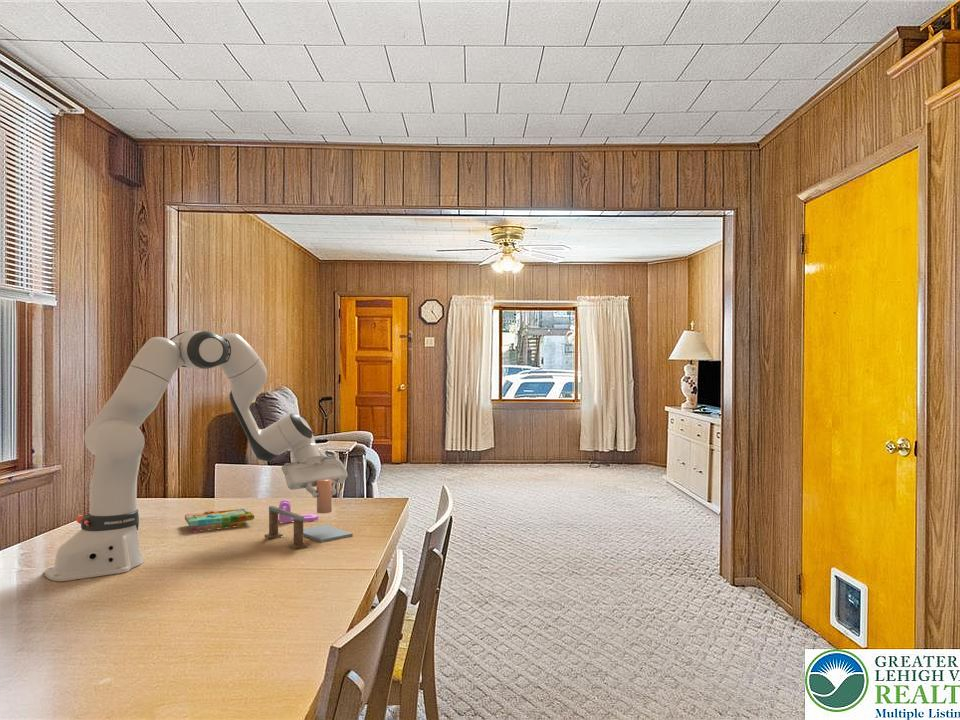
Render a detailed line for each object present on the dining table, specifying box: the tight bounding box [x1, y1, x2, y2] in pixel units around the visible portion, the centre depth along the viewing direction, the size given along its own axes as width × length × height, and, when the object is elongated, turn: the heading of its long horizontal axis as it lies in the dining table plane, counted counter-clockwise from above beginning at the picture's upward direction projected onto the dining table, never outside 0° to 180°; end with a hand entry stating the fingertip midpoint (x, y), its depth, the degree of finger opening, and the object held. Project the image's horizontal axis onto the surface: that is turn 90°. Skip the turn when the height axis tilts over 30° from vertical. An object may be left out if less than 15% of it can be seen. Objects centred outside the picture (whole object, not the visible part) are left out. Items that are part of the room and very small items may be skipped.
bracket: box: [278, 499, 319, 523], centre depth 234 cm, size 13×6×7 cm, turn 105°
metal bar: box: [268, 505, 304, 521], centre depth 206 cm, size 1×20×1 cm, turn 43°
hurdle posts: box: [264, 510, 309, 550], centre depth 206 cm, size 4×20×8 cm, turn 43°
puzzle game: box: [184, 508, 255, 532], centre depth 226 cm, size 12×5×20 cm
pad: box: [303, 524, 354, 543], centre depth 215 cm, size 11×16×1 cm
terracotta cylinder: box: [316, 479, 333, 514], centre depth 215 cm, size 5×5×10 cm
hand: (325, 495), depth 214 cm, fingers closed on terracotta cylinder, 5 cm apart
